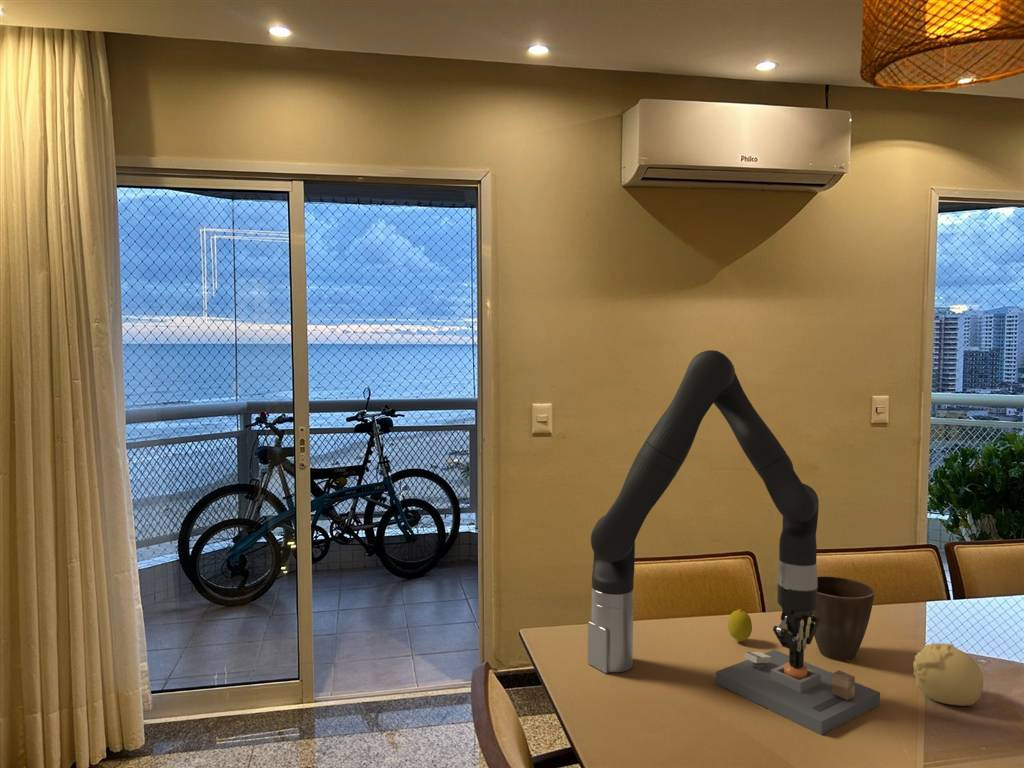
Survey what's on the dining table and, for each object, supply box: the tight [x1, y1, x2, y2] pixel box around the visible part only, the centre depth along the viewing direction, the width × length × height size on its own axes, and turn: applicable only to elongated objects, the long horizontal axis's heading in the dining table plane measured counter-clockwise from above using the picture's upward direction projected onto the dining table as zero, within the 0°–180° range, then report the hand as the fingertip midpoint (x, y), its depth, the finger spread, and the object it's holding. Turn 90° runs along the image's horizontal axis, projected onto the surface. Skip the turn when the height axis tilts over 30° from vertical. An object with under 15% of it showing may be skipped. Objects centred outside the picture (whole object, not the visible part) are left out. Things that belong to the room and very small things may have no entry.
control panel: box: [715, 649, 881, 736], centre depth 141 cm, size 20×24×4 cm
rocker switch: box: [744, 651, 771, 663], centre depth 148 cm, size 5×3×1 cm, turn 124°
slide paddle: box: [831, 669, 856, 700], centre depth 134 cm, size 2×3×4 cm
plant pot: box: [813, 576, 875, 662], centre depth 159 cm, size 15×15×16 cm
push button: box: [784, 663, 807, 680], centre depth 141 cm, size 4×4×2 cm
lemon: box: [727, 608, 753, 643], centre depth 166 cm, size 6×6×8 cm
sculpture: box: [912, 642, 984, 707], centre depth 139 cm, size 12×12×11 cm
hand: (796, 666), depth 141 cm, fingers closed
